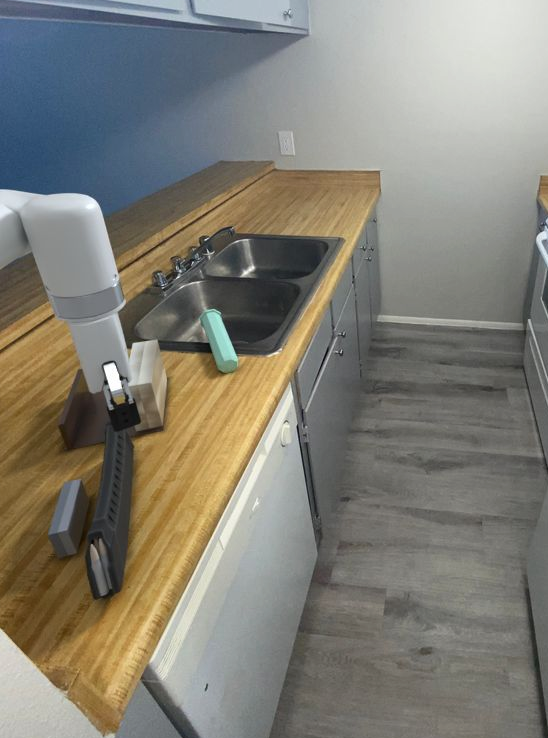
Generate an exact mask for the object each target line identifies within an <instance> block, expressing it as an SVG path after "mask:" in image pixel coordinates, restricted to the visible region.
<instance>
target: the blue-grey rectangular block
mask: <svg viewBox="0 0 548 738" xmlns="http://www.w3.org/2000/svg"><path fill="white" fill-rule="evenodd" d="M90 502H91V500H90V498H89V495H88V493H87V490H86V487H85V484H84V483H83V480H82V478H77V479H73V480H69V481H64V482H63V484H62V488H61V491H60V493H59V496H58V500H57V503H56V505H55V506H56V507H55V510H54V513H53V516H52V520H51V523H50V526H49V528H48V532H47V538H48V539H49V541H50V543H51V545H52V548H53V549H54V552H55V554H56V556H57V558H58V559H60V558H61V559H62V558H64V557H68V556H72V555H76V554H78V552H79V549H80V543H81V539H82V535H83V531H84V527H85V522H86V518H87V516H88V515H87V514H88V511H89V507H90Z"/></svg>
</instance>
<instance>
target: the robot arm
mask: <svg viewBox="0 0 548 738" xmlns="http://www.w3.org/2000/svg"><path fill="white" fill-rule="evenodd" d="M30 253H32V255H33V258H34V261H35V263H36V267H37V269H38V273H39V275H40V278H41V281H42V284H43V287H44V289H45V292H46V294H47V298H48V301H49V303H50V306H51V309H52V312H53V316H54V317H55V319H56V320H59V321H60V322H63V323H67V325H68V329H69V332H70V336H71V339H72V343H73V345H74V349H75V352H76V354H77V357H78V360H79V363H80V367H81V369H82V370H83V373H84V376H85V379H86V382H87V385H88V388H89V391H90V392H91V393H93V394H96V392H100V391H102V389H103V391H104V394H105V398H106V401H107V404H108V406H107V407H106V408H107V411H108V414H109V417H110V420H111V423H112V427H113V430H114V431H115V432H118V431H121V430H124V429H127V428H130V427H133V426H135V425H138V424H140V423H141V419H140V415H139V412H138V408H137V405H136V401H135V398H132V395H131V392H130V389H129V386H128V383H130V382H131V380H132V373H131V368H130V362H129V358H130V356H129V352H128V348H127V344H126V340H125V339H126V338H125V336H124V332H123V327H122V323H121V320H120V317H119V311H121V310H122V309H123V308H124V307H125V305H126V303H127V301H126V297H125V294H124V290H123V287H122V282H121V278H120V274H119V271H118V268H117V263H116V260H115V256H114V252H113V249H112V244H111V241H110V237H109V233H108V230H107V227H106V223H105V219H104V214H103V211H102V209H101V206H100V204H99V202H97V200H96V199H94V198H93V197H92V196H89V195H87V194H82V193H76V192H65V193H64V192H62V193H53V194H39V193H34V192H26V191H20V190H13V189H2V188H1V189H0V270H2V269H3V268H5V267H6V266H8V265H9V264H11V263H13V262H14V261H15V260H17V259H20V258H22V257H24V256H26V255H29V254H30ZM122 387H124V389H125V393H124V392H123V389H122ZM109 391H111V393H112V397H110V394H109Z"/></svg>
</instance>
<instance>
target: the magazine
mask: <svg viewBox="0 0 548 738" xmlns="http://www.w3.org/2000/svg"><path fill="white" fill-rule="evenodd" d="M103 447H104V448H103V458H102V459H103V460H102V467H101V475H100V482H99V487H98V494H97V500H96V504H95V507H94V513H93V516H92V521H91V522H90V525H89V526H90V527H89V530H88V531H87V532H86V537H85V538H86V540H87V546H86V549H85V554H84V561H85V567H86V576H87V577H86V578H87V580H88V581H87V582H88V584H89V589H90V592H91V595H92V599H93V600H94V601H98V600H106V599H109V598H112V597H114V596H115V595H116V594H118V593H120V592H121V590H122V587H123V583H124V582H123V581H124V576H125V568H126V563H127V556H128V555H127V554H128V546H129V536H130V520H131V506H132V492H133V478H134V451H135V450H134V449H135V444H134V443H133V440H132V437H130V435H129V433H128V431H127V429H124V430H121V431H118V432H115V431H114V430H113V427H112V423H111V421H109V422H107V423H106V429H105V443H104V446H103Z"/></svg>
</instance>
